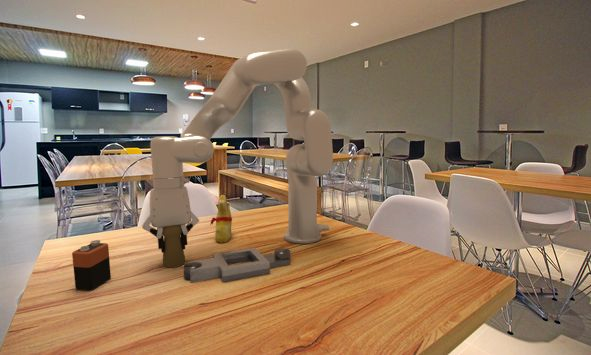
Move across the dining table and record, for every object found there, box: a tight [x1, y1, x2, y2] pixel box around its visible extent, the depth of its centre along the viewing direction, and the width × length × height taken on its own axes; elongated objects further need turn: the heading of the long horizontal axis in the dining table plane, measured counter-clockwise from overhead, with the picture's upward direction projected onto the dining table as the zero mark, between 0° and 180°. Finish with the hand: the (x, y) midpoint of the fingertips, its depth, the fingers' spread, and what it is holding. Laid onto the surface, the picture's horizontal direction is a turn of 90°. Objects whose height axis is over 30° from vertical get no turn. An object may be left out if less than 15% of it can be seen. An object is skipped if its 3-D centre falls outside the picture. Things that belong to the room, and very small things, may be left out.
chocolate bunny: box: [210, 194, 233, 244], centre depth 112 cm, size 7×11×15 cm, turn 2°
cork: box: [162, 225, 187, 268], centre depth 91 cm, size 6×6×11 cm
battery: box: [71, 239, 112, 291], centre depth 78 cm, size 4×7×10 cm, turn 172°
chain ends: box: [183, 247, 291, 284], centre depth 88 cm, size 28×12×3 cm, turn 115°
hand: (173, 248), depth 91 cm, fingers closed on cork, 4 cm apart
